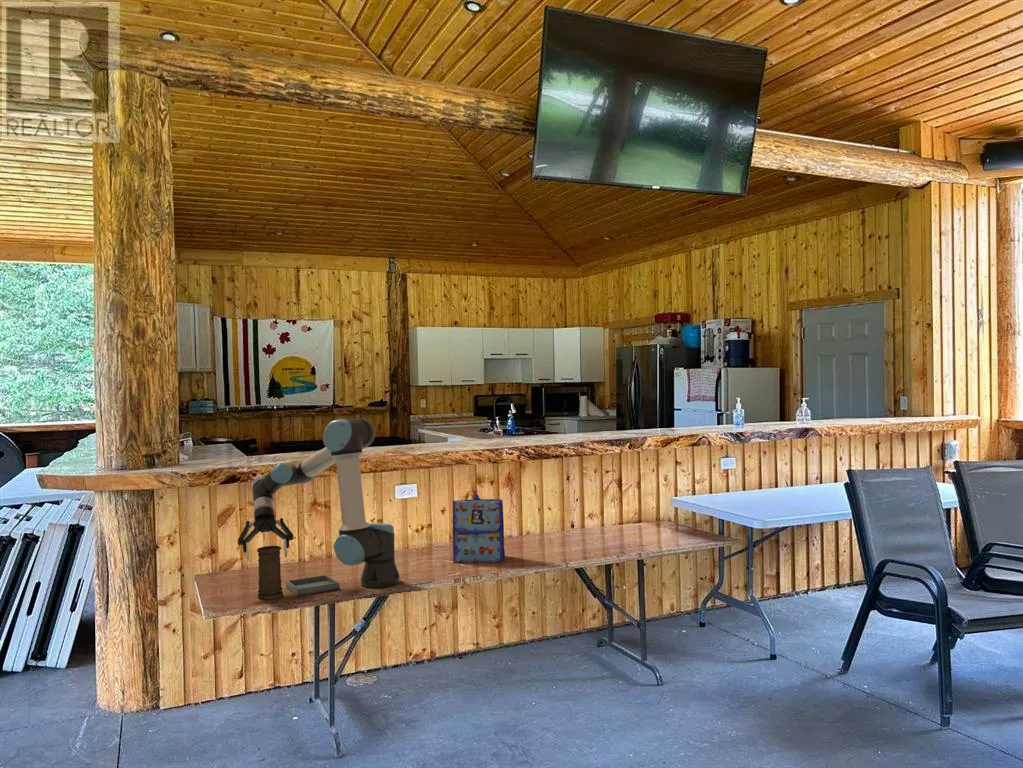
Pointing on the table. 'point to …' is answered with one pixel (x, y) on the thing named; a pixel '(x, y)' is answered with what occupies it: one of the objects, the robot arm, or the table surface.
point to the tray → (312, 585)
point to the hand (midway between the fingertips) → (267, 556)
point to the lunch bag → (478, 530)
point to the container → (269, 572)
